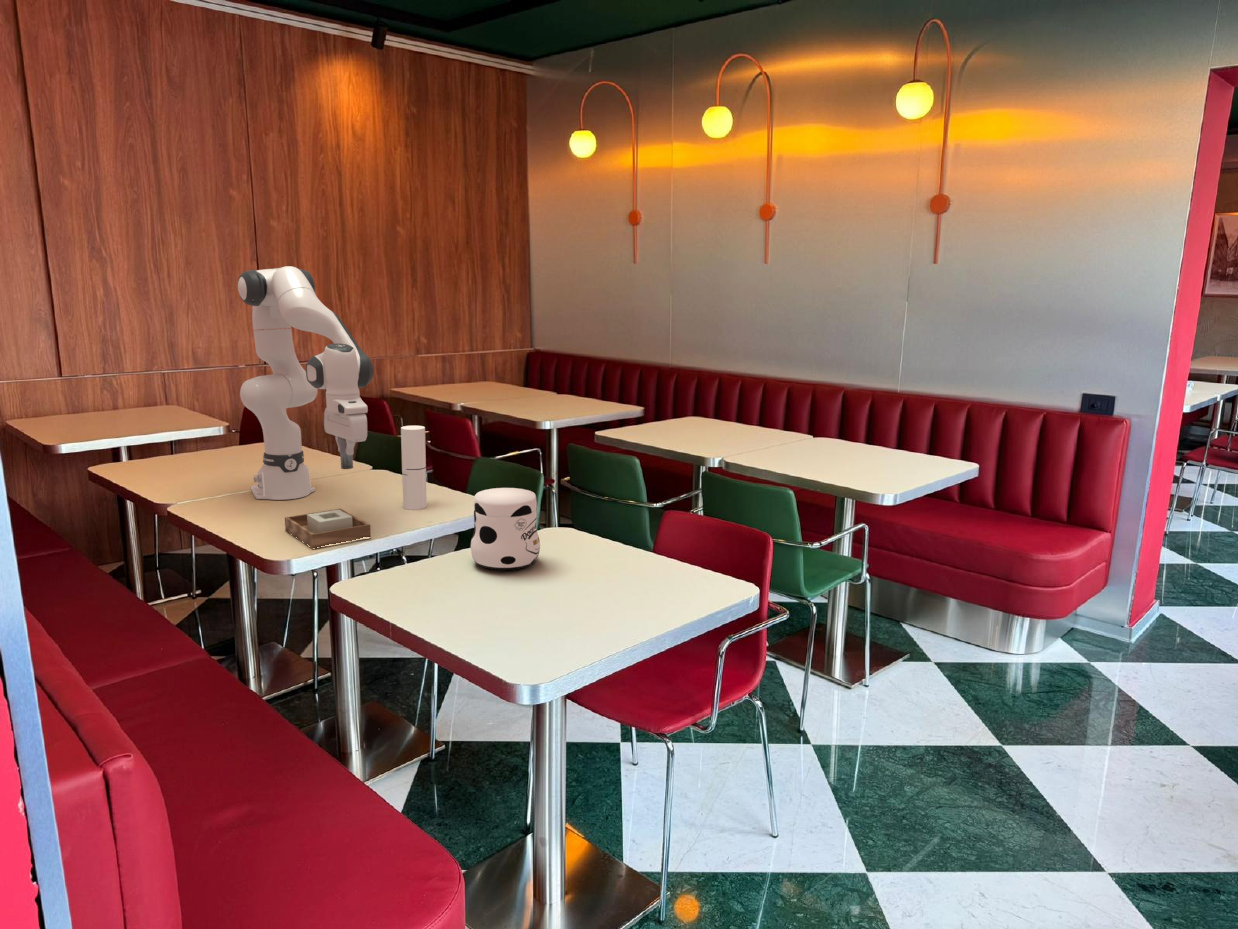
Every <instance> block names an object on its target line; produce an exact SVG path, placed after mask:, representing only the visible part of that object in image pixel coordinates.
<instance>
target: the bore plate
mask: <svg viewBox="0 0 1238 929" xmlns="http://www.w3.org/2000/svg"><path fill="white" fill-rule="evenodd" d="M332 510H333V511H329V510H326V511H327V512H322V511H319V512H320V513H316V512H313V513H314V514H310V513H306V514H307V524H308V530H309V531H311V532H312V533H314V534H315V533H320V532H326V531H332V530H338V529H344V528H349V527H353V522H352V516H350V515H348V514H346V513H344V512H343V511H341V510H335V509H332Z"/></svg>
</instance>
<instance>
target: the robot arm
mask: <svg viewBox="0 0 1238 929" xmlns="http://www.w3.org/2000/svg"><path fill="white" fill-rule="evenodd" d="M237 291H238V294H239V297H240V299H241V301H242V302H244V303H245V305H248V306H251V307H252V315H251V316H252V318H251V320H252V331H253V338H254V345H255V346H254V347H255V353H256V356H257V357H258V358H259V359H260V360H262V361H264V362H265V363H267V364H268V365H269V367H270V368H271V371H272V374H266V375H258V376H256V377H255V376H254V377H252V378H249V379H247V380H245V381H244V382H243V383H242V384H241V387H240V391H239V395H240V401H241V403H242V404H243V406H244V407H245V408H247V409H248V410H249V411H251V412H252V413H253V414H254V416H256V418H257V420H258V422H259V423H260V426H261V429H262V434H263V445H264V453H263V456H262V462H263V464H262V466H261V467H260V469H259V470H258V471H257V473H256V474H254V475H253V482H254V483H257V484H253V485H251V486H250V491H251V492H252V494H253V496H254V498H255V499H257V500H273V501H276V500H277V501H280V500H281V501H283V500H284V501H285V500H294V499H301V498H304V497H306V496H308V495H310V494H311V493H314V492H316V487H314V486H312V485H311V477H310V469H309V467H308V466H307V464H305V454H304V450H303V448H302V446H303V445H302V429H301V427H300V425H299V424H298V423H296V422H294V420H290V418H289V416H288V414H287V409H290V408H297V407H302V406H305V405H306V404H309V403H311V402H313V401H314V400H315V399H316V398H317V396H318V389H319V390H326V392H325V400H326V402H325V403H326V405H325V406H326V407H325V408H324V414H323V427H324V428H323V429H324V432H325V433H326V434H329V435H332V436H335V437H334V438H335V441H336V445H337V448H338V449H337V450H338V452H339V453H340V440H339V437H340V438H343V439H346V443H347V447H346V448H345V453H346V454H347V455H354V454H355V452H354V449H355V446H356V443H360V442H366V440H367V437H368V417H367V414H368V411H369V409H368V405H367V404H366V403H365V402H364V401H363V400H362V398H361V396H360V393H361V392H360V389H365V388H366V387H367V386H368V385H369V384H370V383H371V381H372V380H373V378H374V376H375V367H374V364H373V361H372V360H371V358H370V357H369V356H368V354H366V353H365V352H364V351H363V350H362V348H361V347H360V346H359V345H358V342H356V339H355V338H354V337H353V335H352V334H351V332H350V331H349V329H348V328H347V326H346V325H345V324H344V322H343V321H342V319H341V318H340V316H339V315H338V314H337V313H336V312H334V311H333V310H331V309H329V308H328V307H327V306H326V305H324V303H322V301H321V300H320V299H319V298H318V296H317V295H316V284H315V279H314V276H313V275H312V274H311V272H309V271H308V270H305V269H301V268H298V267H295V266H289V265H287V266H282V267H274V268H265V269H258V270H255V269H250V270H246V271H243V272H242V273H241V274H240V275H239V277H238V281H237ZM292 328H294V329H297V330H299V331H304V332H309V333H312V334H317V335H321V336H324V337H326V338H327V339H329V340H330V341H332V343H329V344H328V345H326V346H325V347H324V351H323V352H321V353H319V354H316V355H313V356H311V357H310V359H308V361H307V363H306V364H305V369H304V368H303V366H302V365H301V363H300V362H299V359H298V358H297V353H296V351H295V346H294V340H293V332H292Z"/></svg>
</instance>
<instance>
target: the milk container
mask: <svg viewBox="0 0 1238 929" xmlns="http://www.w3.org/2000/svg"><path fill="white" fill-rule="evenodd" d="M473 499H474V500H473V507H474V511H473V519H474V520H473V521H474V522H473V523H474V524H473V526H474V528H473V533H472V536H471V539H470V540H471V541H470V551H471V557H472V560H473V561H474V562H475V564H477V565H479V566H480V567H482V568H485V569H489V570H497V571H511V570H519V569H523V568H528V567H529V566H531V565H533V564H535V563H536V561H537V560H538V558H539V555H540V551H541V541H540V537H539V534H538V528H537V527H538V526H537V518H538V517H537V516H538V514H537V513H538V511H537V508H538V507H537V506H538V503H537V495H536V493H535V492H533V491H531V490H529V489H524V488H516V487H496V488H489V489H484V490H481V491H478V492H476V494H474V498H473Z"/></svg>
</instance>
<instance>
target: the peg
mask: <svg viewBox="0 0 1238 929" xmlns="http://www.w3.org/2000/svg"><path fill="white" fill-rule="evenodd" d="M339 440H340V452H339V455H340V469H341V470H352V469H353V468H354V461H353V460H354V459H353V458H354V456H353V455H354V454H353V455H347V454H346V453H345V448H346V447H347V443H346V439H343V438H340V437H339Z"/></svg>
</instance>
